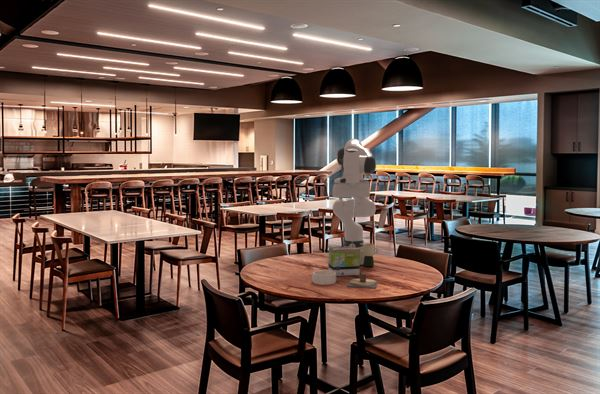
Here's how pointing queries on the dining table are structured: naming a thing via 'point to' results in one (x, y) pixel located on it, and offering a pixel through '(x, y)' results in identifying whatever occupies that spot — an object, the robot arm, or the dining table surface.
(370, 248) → the character mug
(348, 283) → the mat
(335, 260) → the tea box
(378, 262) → the dining table surface
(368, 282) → the lid
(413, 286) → the dining table surface
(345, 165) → the robot arm
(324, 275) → the bowl
